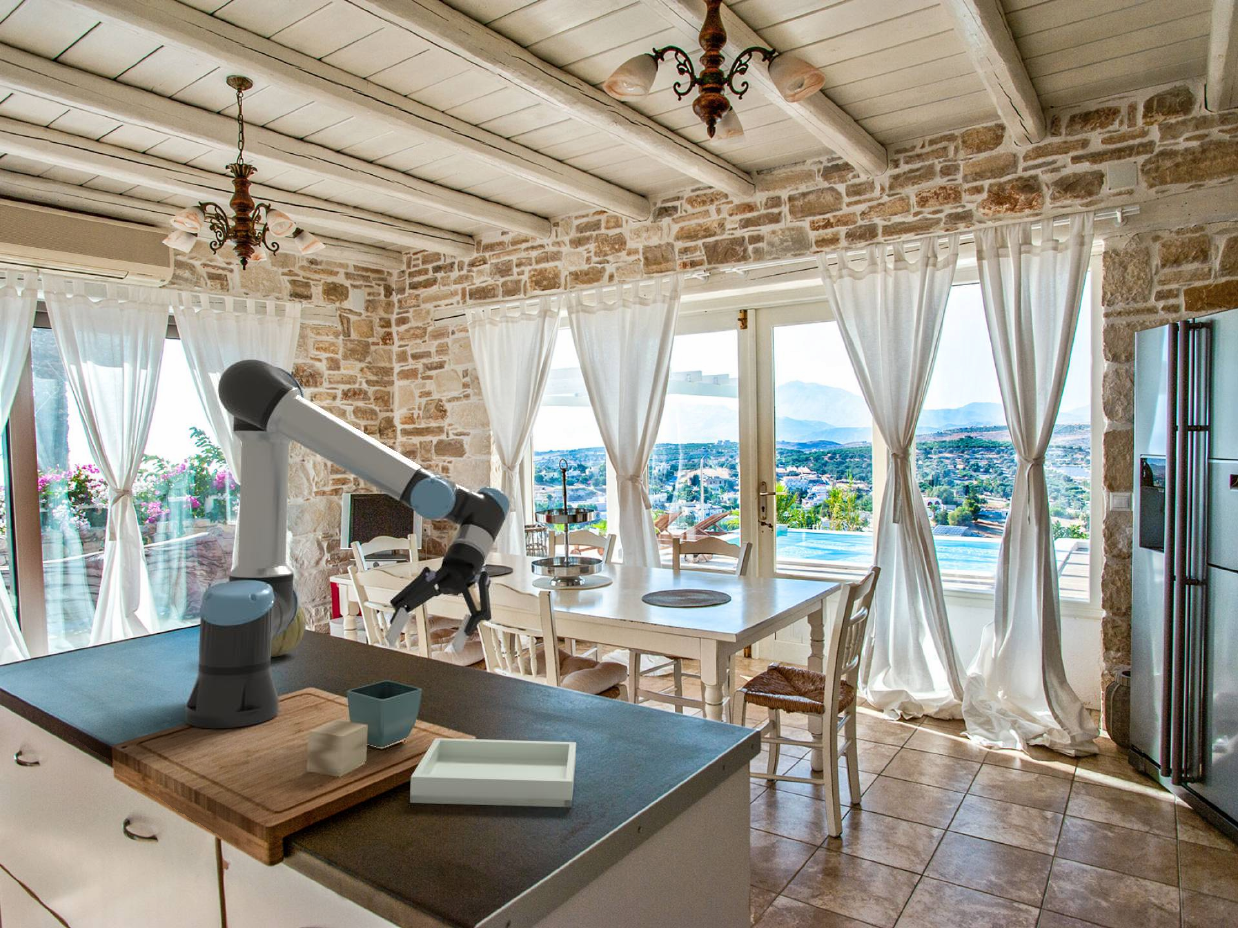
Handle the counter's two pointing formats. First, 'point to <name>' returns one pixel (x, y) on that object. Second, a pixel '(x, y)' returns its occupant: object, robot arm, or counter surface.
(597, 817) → the counter surface
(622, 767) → the counter surface
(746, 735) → the counter surface
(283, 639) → the cantaloupe
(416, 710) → the flower pot
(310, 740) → the beech block
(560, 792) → the tray
